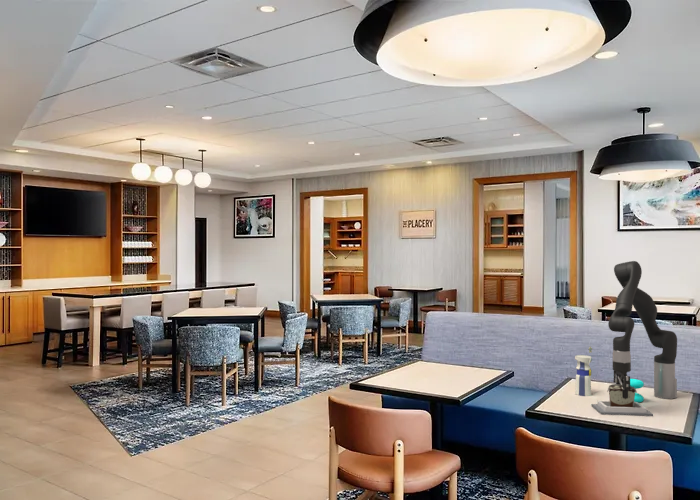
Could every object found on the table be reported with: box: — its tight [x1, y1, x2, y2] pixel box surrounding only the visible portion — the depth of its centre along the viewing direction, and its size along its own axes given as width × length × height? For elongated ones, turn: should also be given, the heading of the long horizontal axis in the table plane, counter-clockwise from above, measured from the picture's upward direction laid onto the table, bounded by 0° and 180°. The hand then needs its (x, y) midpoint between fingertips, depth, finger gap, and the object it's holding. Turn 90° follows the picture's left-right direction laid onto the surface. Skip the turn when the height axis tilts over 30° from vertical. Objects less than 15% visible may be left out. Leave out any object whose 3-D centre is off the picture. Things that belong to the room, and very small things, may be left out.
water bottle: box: [574, 346, 593, 397], centre depth 290 cm, size 8×9×25 cm
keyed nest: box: [590, 400, 654, 417], centre depth 259 cm, size 22×14×3 cm, turn 83°
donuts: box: [630, 378, 645, 404], centre depth 278 cm, size 10×10×10 cm
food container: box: [606, 383, 638, 407], centre depth 260 cm, size 12×6×10 cm, turn 81°
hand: (621, 395), depth 259 cm, fingers open, 8 cm apart
